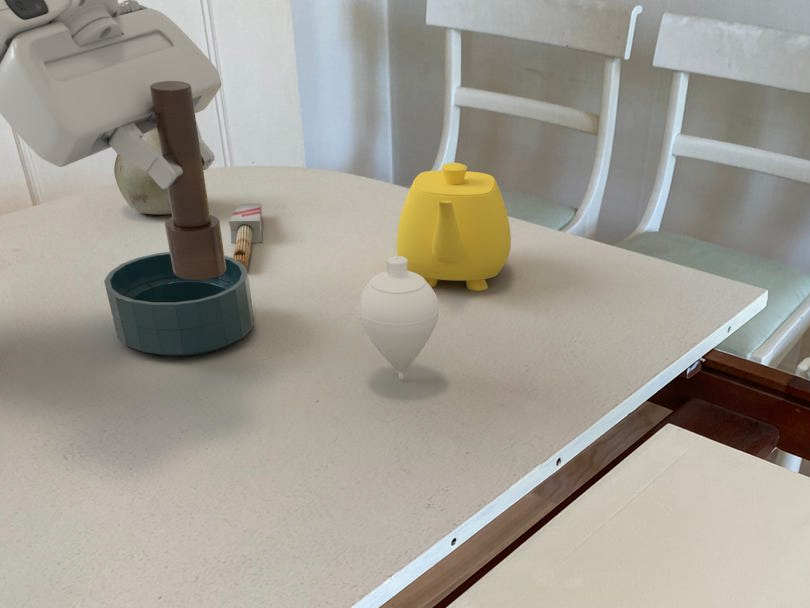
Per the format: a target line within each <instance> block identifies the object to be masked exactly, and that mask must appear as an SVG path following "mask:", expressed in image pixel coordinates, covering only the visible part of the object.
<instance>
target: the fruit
mask: <svg viewBox="0 0 810 608" xmlns="http://www.w3.org/2000/svg"><path fill="white" fill-rule="evenodd" d="M143 135H144V136H143V137H142V140H144V141H145V142H146V143H148V144H149V145H151V146H152V147H153V148H155V149H156V150H157V151H159V152H160V153H161V148H160V142H159V136H158V131H157V129H155V130H153V131H150V132H148V133H145V134H143ZM113 167H114V168H113V171H114V173H113V174H114V179H115V181H116V184H117V185H116V186H117V187H118V189H119V192H120V194H121V195H122V198H123V199H124V200H125V202H126V204H128V205H129V207H131V208H132V209H133V210H135V211H136V212H139V213H141V214H145V215H157V216H158V215H172V212H171V206H170V200H169V194H168V189H167V188H166V189H162V188H161V187H160V186H159V185H158V184H157V183H156V182H155V180H154V179H153V178H152V177H151V176H150V175H149V174H148V172H145V171H143V170H141V169H139V168H137V167H136V166H134V165H132V164H130V163H129V162H127V161H125V160H123V159H122V158H121V157H120V156H119V155H118V154H117V153H116V158H115V162H114V166H113Z"/></svg>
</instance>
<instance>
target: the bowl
mask: <svg viewBox="0 0 810 608" xmlns="http://www.w3.org/2000/svg"><path fill="white" fill-rule="evenodd" d="M224 256H225V263H226V271H225V272H224V273H223V274H222V275H220V276H218V277H215V278H211V279H205V280H189V279H183V278H180V277H178V276H176V275H175V274H174V272H173V268H172V262H171V256H170V251H166V252H156V253H152V254H149V255H148V254H147V255H144V256H139V257H136V258H134V259H130V260H128V261H125V262H123V263H120V264H119V265H118V266H116V267H115V268H113V269H112V270H110V271H109V272H108V274H107V275H106V277H105V279H104V281H103V282H104V286H105V292H106V295H107V299H108V303H109V307H110V310H111V311H110V312H111V315H112V320H113V325H114V328H115V332H116V337H117V339H118V340H120V341H121V343H123V344H124V345H125V346H127V347H129V348H132V349H135V350H137V351H140V352H143V353H148V354H149V353H150V354H153V355H157V356H158V355H159V356H166V357H187V356H196V355H203V354H208V353H211V352H215V351H217V350H220V349H223V348H225V347H227V346H229V345H232V344H233V343H235V342H237V341H239V340H241V339H242V338H244V337H245V336H246V335H247V334H249V332H251V330H252V329H253V325H254V322H255V316H254V308H253V302H252V295H251V286H250V279H249V273H248V270H246V268H245V266H244V265H243V264H242V263H240V262H238V261H237V260H235V259H234V258H233V257H230V256H228V255H224Z"/></svg>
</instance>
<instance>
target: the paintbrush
mask: <svg viewBox="0 0 810 608" xmlns="http://www.w3.org/2000/svg"><path fill="white" fill-rule="evenodd" d="M262 205H263V204H262V203H261V202H260V203H259V202H255V203H253V202H251V203H250V202H249V203H247V202H245V203H239V205H238V206H237V208H236V210H235V211H234V213H233V214H232V215H231V217H230V218H229V220H228V224H229V228H230V241H231V242H230V243H231V244H235V246H234V250H233V255H232V258H234V259H235V260H237V261H238V262H240V263H242V264H243V265H244V266H245V268H246V270H247V269H248V267H249V261H250V254H251V253H250V252H251V245H252V243H253V244H257V243H263V239H262V238H263V236H262V235H263V234H262V233H263V229H262V228H263V227H262V226H263V225H262V224H263V221H262V220H263V219H262V216H263V215H262V214H263V213H262V210H263V209H262ZM247 271H248V270H247Z"/></svg>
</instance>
